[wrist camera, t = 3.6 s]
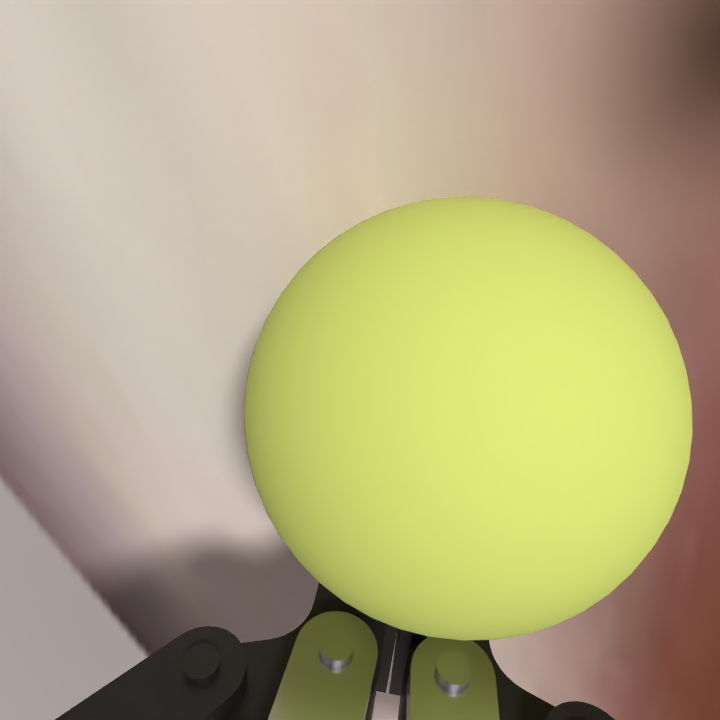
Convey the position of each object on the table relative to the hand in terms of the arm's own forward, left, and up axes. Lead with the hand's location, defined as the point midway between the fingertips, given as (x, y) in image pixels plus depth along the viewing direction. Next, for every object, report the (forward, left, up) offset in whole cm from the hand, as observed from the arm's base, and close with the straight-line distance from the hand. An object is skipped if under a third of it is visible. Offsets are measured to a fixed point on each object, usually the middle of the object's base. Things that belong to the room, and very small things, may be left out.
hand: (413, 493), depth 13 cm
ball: (-4, 0, +2) cm, 5 cm away
